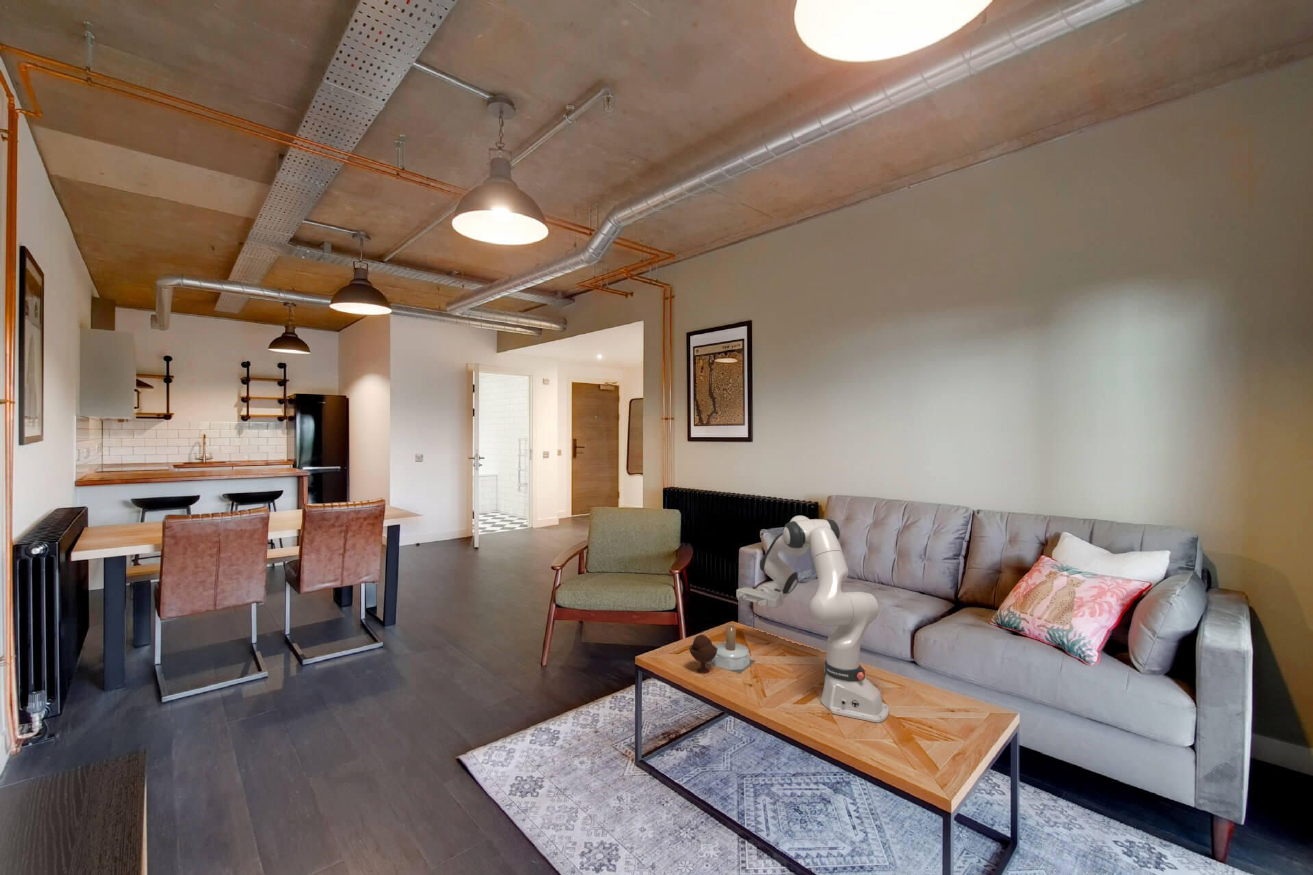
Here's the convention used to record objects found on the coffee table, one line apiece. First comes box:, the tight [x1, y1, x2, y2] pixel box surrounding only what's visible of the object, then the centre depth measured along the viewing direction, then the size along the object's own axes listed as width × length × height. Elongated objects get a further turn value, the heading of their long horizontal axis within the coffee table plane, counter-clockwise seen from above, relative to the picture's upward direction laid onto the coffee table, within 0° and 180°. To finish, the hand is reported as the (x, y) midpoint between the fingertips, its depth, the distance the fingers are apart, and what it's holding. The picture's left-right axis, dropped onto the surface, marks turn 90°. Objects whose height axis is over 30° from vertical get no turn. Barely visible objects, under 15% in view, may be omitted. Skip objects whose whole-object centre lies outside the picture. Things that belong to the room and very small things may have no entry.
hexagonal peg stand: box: [711, 624, 751, 671], centre depth 230 cm, size 15×15×14 cm
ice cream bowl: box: [689, 634, 718, 675], centre depth 221 cm, size 11×11×15 cm
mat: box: [705, 658, 756, 674], centre depth 230 cm, size 16×15×1 cm
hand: (748, 600), depth 239 cm, fingers open, 8 cm apart
